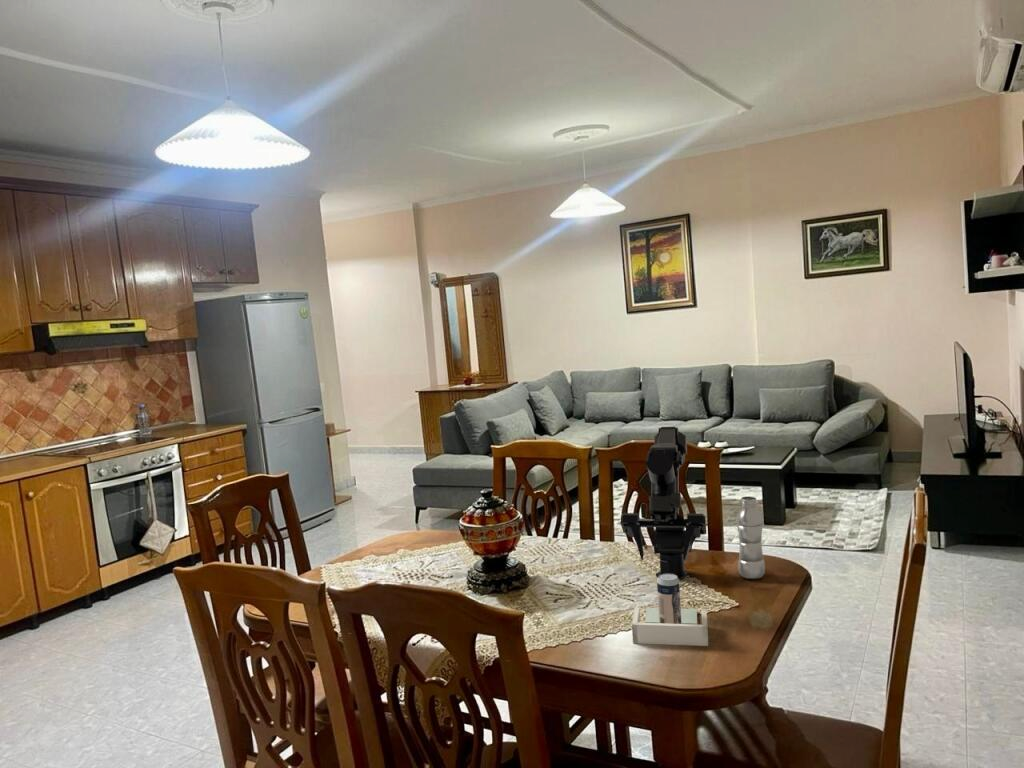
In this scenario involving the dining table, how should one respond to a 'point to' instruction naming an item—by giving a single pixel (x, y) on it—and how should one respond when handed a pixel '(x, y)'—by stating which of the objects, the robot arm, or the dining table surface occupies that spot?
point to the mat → (686, 616)
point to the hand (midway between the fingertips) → (663, 559)
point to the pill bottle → (669, 599)
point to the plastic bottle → (750, 539)
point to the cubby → (669, 632)
